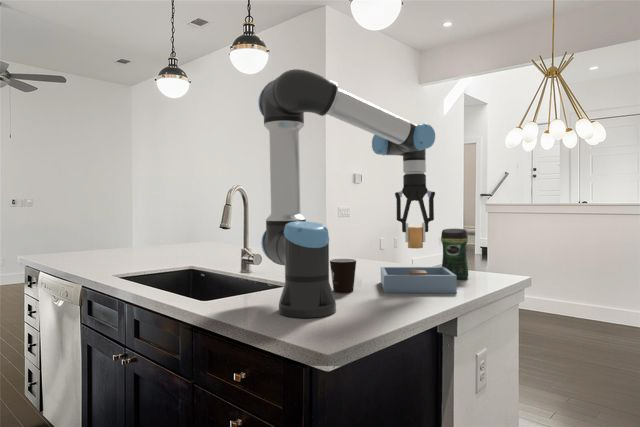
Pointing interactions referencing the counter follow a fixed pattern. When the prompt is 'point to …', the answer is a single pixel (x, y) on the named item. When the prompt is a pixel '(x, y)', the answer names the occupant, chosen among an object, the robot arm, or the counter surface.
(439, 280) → the tote
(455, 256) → the coffee jar
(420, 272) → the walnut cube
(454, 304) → the counter surface
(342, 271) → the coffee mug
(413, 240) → the orange cylinder
